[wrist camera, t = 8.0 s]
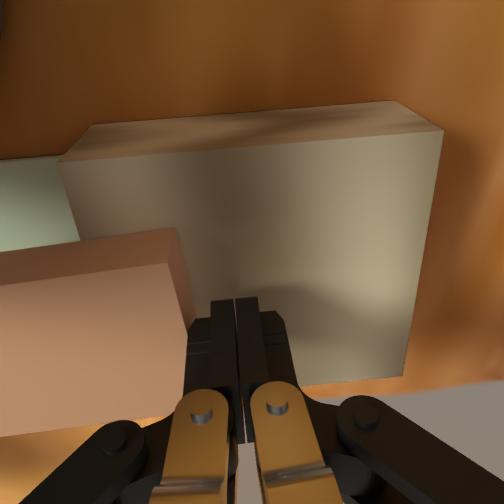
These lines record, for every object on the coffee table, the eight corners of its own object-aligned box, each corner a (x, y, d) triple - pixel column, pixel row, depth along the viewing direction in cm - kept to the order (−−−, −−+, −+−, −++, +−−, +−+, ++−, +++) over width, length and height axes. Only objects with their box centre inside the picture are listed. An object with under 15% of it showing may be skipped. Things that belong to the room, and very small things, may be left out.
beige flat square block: (394, 100, 16) (444, 130, 12) (371, 313, 21) (402, 376, 18) (91, 124, 15) (56, 162, 12) (144, 335, 21) (130, 403, 17)
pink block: (174, 227, 13) (167, 262, 12) (209, 366, 16) (207, 410, 15) (-111, 267, 13) (-160, 307, 12) (-23, 396, 17) (-52, 443, 15)
